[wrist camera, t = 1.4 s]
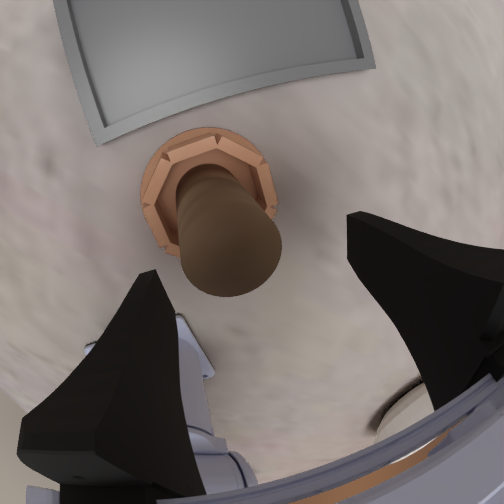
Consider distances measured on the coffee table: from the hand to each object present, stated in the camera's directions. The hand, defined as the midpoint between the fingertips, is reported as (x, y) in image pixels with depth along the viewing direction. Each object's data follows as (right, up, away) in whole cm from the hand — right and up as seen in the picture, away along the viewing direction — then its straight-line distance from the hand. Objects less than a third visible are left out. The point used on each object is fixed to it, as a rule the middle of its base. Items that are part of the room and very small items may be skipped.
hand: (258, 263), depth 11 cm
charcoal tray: (-2, +15, +3) cm, 15 cm away
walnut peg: (-3, +4, +8) cm, 9 cm away
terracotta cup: (-3, +4, +8) cm, 10 cm away
